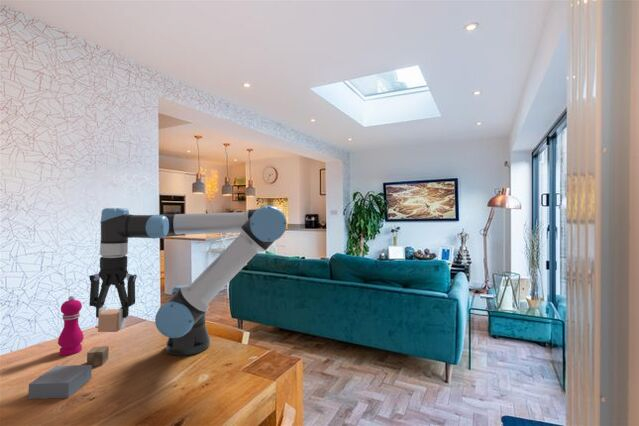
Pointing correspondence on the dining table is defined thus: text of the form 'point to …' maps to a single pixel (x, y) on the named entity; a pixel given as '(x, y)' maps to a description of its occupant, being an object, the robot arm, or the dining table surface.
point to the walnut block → (97, 356)
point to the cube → (108, 321)
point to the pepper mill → (71, 328)
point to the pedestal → (60, 382)
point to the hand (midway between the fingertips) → (112, 327)
